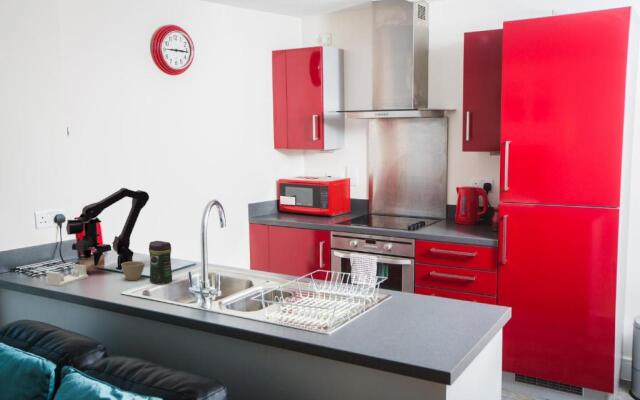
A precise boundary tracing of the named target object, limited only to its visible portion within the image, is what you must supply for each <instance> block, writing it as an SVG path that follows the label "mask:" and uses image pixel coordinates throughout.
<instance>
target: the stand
mask: <svg viewBox="0 0 640 400" xmlns="http://www.w3.org/2000/svg"><path fill="white" fill-rule="evenodd" d="M72 266H73V268H71V269H70V273H71V274H68V275H65V274H64V273H62V272H57V271H47V272H46V273H47V274H46V275H47V281H46V282H45V284H46V285H48V286H54V287H55V286H56V287H63V286H66V285H69V284H72V283H75V282H78V281H81V280H83V279H87V278H89V274H87V270H86V265H80V263H79V264H77V263H75V264H73V265H72Z"/></svg>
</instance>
